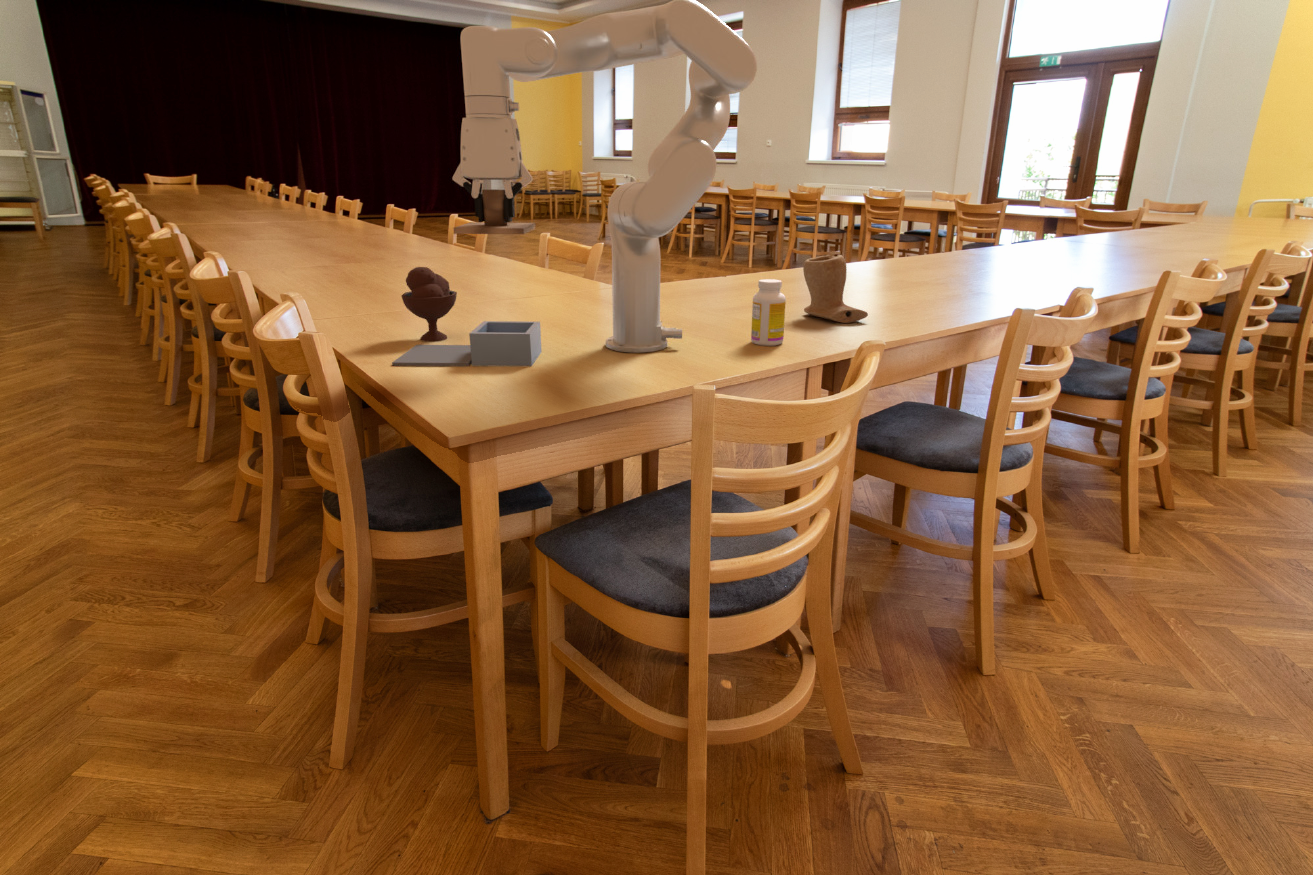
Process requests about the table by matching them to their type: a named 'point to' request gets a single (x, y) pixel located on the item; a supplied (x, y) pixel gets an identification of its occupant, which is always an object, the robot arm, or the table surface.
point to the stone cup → (829, 289)
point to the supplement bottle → (768, 313)
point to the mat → (436, 356)
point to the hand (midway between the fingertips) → (495, 220)
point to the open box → (505, 343)
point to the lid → (494, 218)
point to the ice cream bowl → (429, 299)
